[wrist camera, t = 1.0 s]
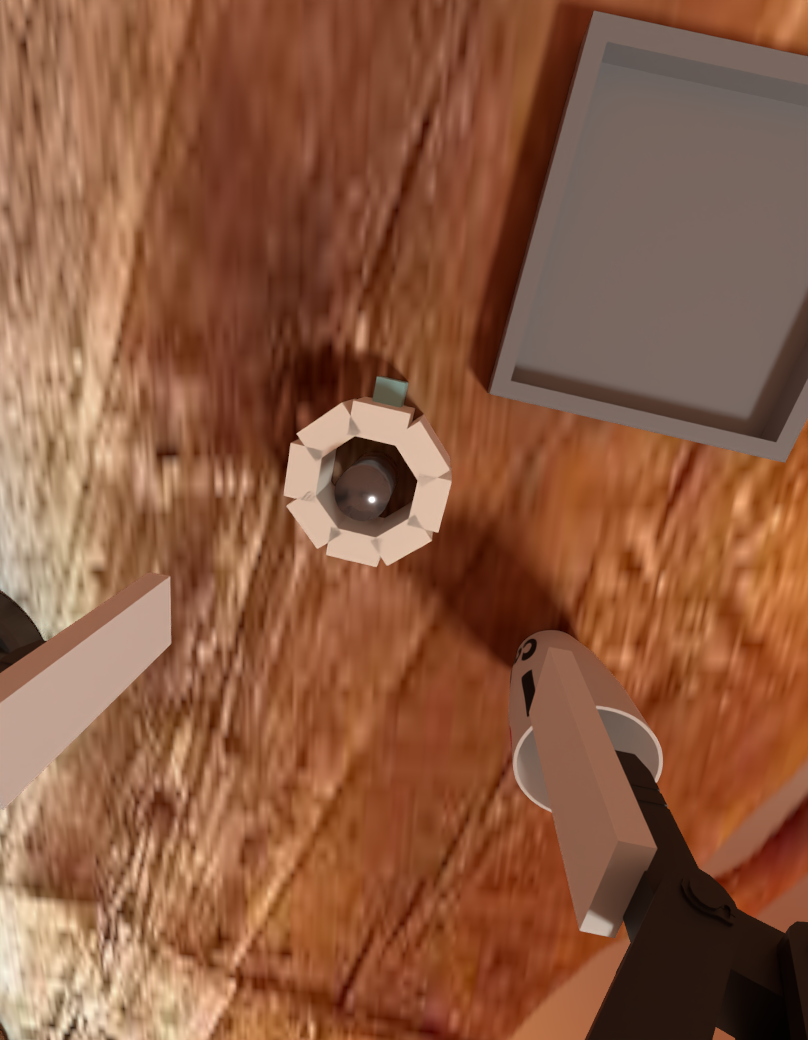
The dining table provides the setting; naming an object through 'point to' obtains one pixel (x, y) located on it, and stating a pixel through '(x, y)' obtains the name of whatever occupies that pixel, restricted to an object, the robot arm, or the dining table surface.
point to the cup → (608, 698)
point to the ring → (316, 491)
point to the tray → (671, 243)
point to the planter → (1, 1036)
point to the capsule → (366, 486)
